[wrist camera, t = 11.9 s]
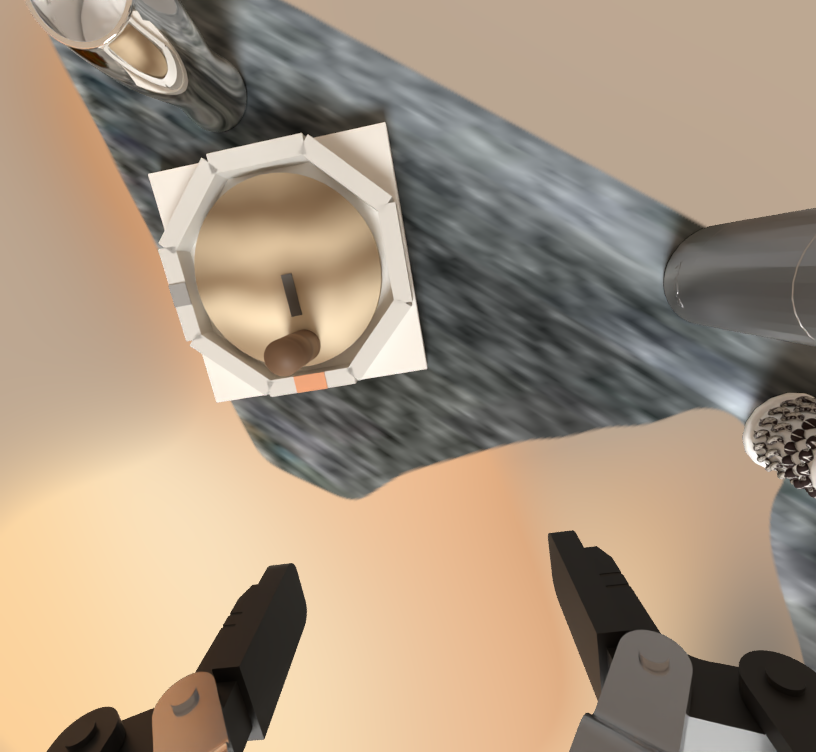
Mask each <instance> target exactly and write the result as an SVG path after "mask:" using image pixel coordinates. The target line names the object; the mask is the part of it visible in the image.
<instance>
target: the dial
mask: <svg viewBox="0 0 816 752" xmlns="http://www.w3.org/2000/svg"><path fill="white" fill-rule="evenodd" d="M194 270H195V278H196V284H197V288H198V292H199V295H200V298H201V300H202V303H203V306H204V308H205V310H206V311H207V313H208V315H209V317H210V319H211V320H212V322H213V323H214V325H215V326H216V327H217V329H218V330H219V331H220V332H221V333H222V334H223V336H224V337H225V338H226V339H227V340H229V341H230V342H231V343H232V344H233V345H234V346H236V347H237V348H238V349H240V350H241V351H242V352H244V353H246V354H248V355H249V356H251V357H253V358H255V359H258V360H260V361H263V362H265V364H266V366H267V368H268V369H269V370H270V371H271V372H272V373H274V374H276V375H278V376H290V375H292V374H294V373H295V372H296V371H298V370H299V369H301V368H302V367H304V366H311V365H315V364H319V363H322V362H325V361H327V360H330V359H332V358H334V357H335V356H337V355H339V354H341V353H342V352H343V351H345V350H346V349H347V348H349V347H350V346H351V345H352V344H353V343H354V342H355V341H356V340H357V339H358V338H359V337H360V336H361V335H362V334H363V332H364V331H365V330H366V328H367V327H368V326H369V324H370V322H371V320H372V318H373V317H374V314H375V312H376V309H377V306H378V303H379V299H380V295H381V288H382V265H381V258H380V254H379V250H378V247H377V243H376V241H375V239H374V236H373V234H372V232H371V230H370V228H369V226H368V225H367V223H366V221H365V220H364V218H363V217H362V216H361V214H360V213H359V212H358V210H357V209H356V208H355V207H354V206H353V205H352V204H351V203H350V202H349V201H348V200H347V199H346V198H344V197H343V196H342V195H341V194H339V193H338V192H337V191H336V190H334V189H332V188H331V187H329V186H327V185H326V184H324V183H322V182H320V181H317V180H315V179H313V178H310V177H307V176H303V175H299V174H293V173H268V174H262V175H258V176H255V177H252V178H249V179H247V180H245V181H243V182H241V183H239V184H237V185H235V186H234V187H232V188H231V189H229V190H228V191H227V192H226V193H225V194H224V195H222V196H221V197H220V198H219V199H218V200H217V202H216V203H215V204H214V205H213V207H212V208H211V209H210V211H209V212H208V214H207V216H206V218H205V219H204V221H203V224H202V226H201V229H200V231H199V234H198V238H197V242H196V248H195V256H194Z"/></svg>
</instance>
